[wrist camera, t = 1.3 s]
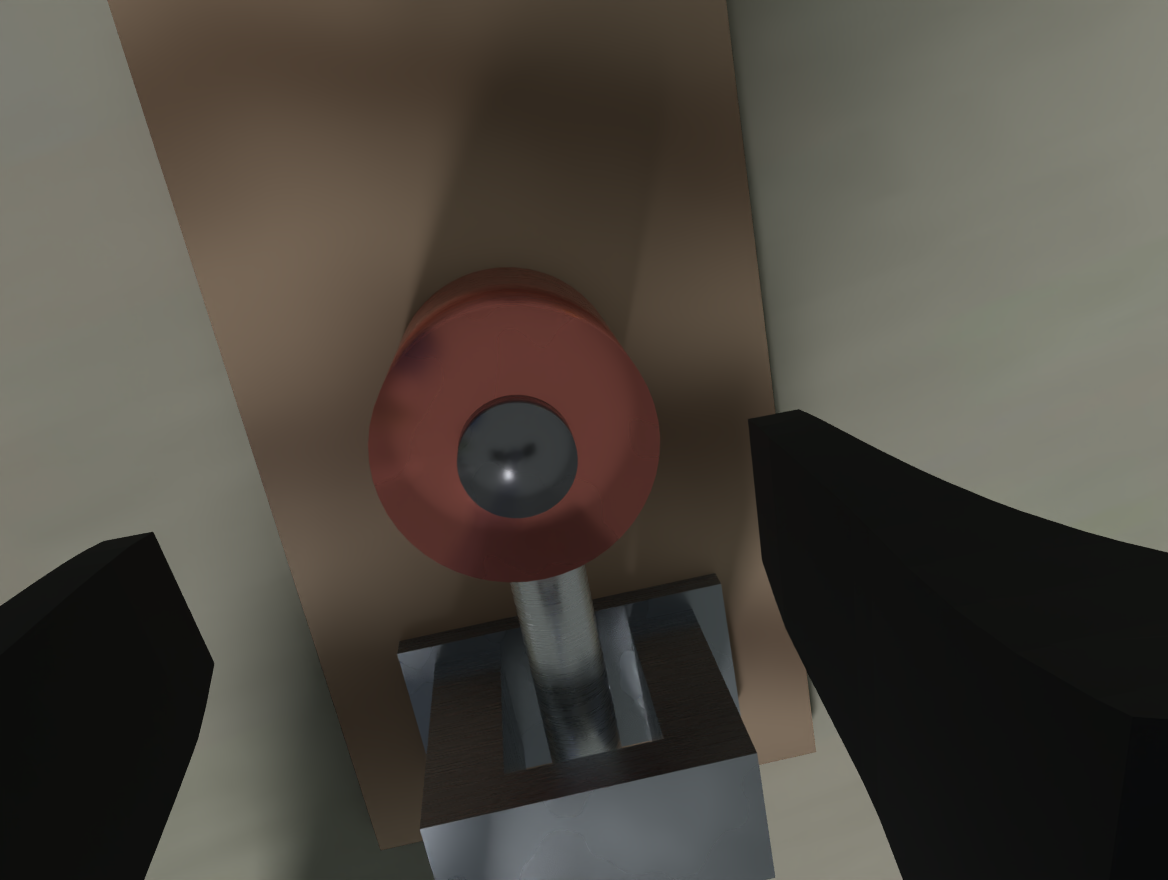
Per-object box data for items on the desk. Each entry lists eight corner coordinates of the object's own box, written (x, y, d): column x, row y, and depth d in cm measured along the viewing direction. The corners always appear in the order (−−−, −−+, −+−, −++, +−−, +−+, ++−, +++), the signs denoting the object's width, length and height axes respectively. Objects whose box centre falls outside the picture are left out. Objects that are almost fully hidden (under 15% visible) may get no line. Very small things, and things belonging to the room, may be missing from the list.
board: (806, 733, 26) (816, 751, 25) (383, 829, 25) (380, 850, 24) (702, -108, 19) (711, -118, 18) (120, -1, 18) (105, -7, 17)
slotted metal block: (735, 706, 24) (816, 887, 18) (436, 772, 24) (421, 979, 18) (715, 572, 23) (795, 721, 17) (399, 641, 22) (370, 817, 17)
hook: (693, 787, 24) (751, 966, 19) (510, 829, 24) (517, 1021, 19) (598, 246, 20) (641, 284, 14) (369, 292, 19) (327, 347, 14)
